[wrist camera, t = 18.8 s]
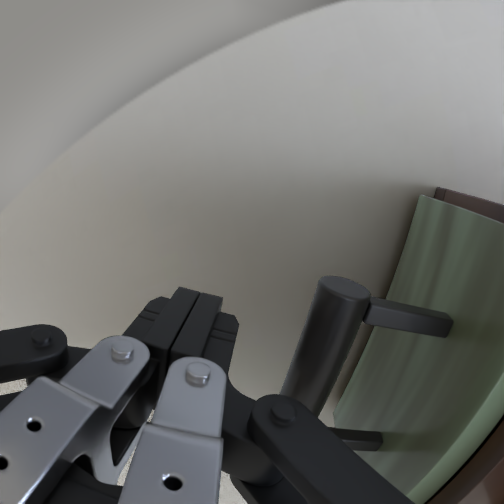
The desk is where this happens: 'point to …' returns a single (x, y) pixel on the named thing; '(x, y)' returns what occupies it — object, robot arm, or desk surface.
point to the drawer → (415, 352)
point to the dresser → (500, 443)
